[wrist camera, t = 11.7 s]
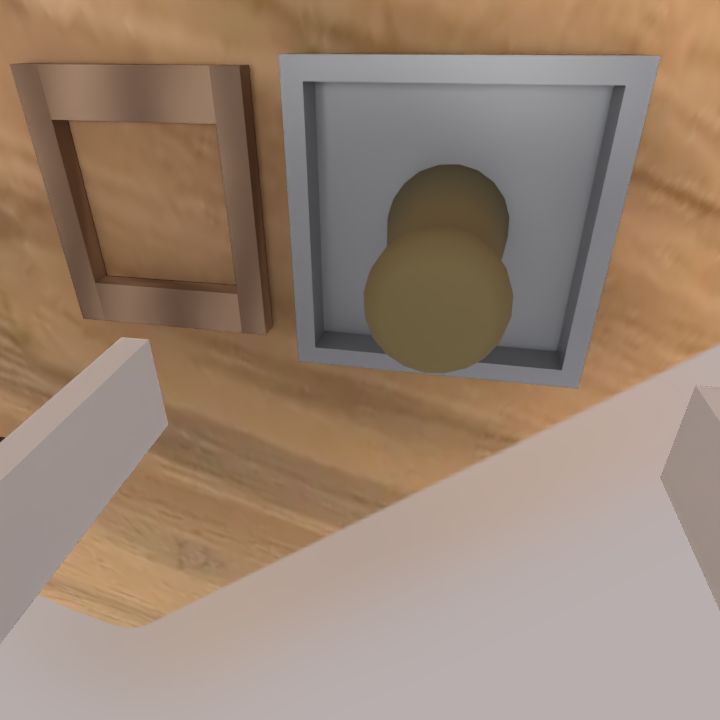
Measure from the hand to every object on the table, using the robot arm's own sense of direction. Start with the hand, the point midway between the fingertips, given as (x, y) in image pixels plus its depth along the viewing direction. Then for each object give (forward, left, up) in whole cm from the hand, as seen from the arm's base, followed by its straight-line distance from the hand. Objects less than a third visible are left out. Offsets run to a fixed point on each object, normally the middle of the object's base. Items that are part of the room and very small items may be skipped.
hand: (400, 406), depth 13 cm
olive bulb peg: (0, 0, -16) cm, 16 cm away
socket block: (-16, 0, -17) cm, 23 cm away
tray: (0, 0, -17) cm, 17 cm away
